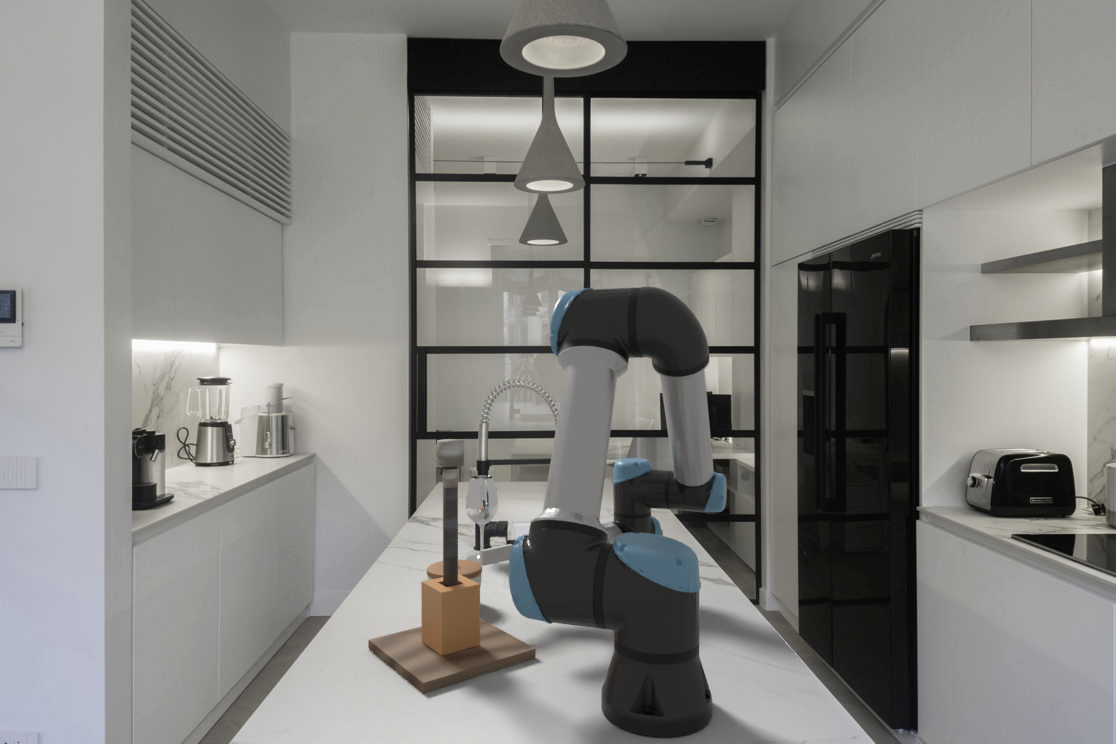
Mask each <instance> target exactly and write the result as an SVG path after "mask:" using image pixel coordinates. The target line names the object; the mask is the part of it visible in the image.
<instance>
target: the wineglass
mask: <svg viewBox="0 0 1116 744" xmlns="http://www.w3.org/2000/svg"><path fill="white" fill-rule="evenodd" d="M468 483H469V484H468V486H467V492H466V498H465V499H466V500H465V511H466V515H467V517H468V518H469V519H470V520H471V521H472V522H473V523H475V524H476V525H478V526H479V531H480V533H479V535H480V538H479V539H480V540H479V541H480V550H479V553H478V554H477V553H476V554H472V555H469V556H467V557H466V559H465V560H470V561H474V562H477V563H479V564H481V550H484V549H485V548H484V530H485V525H486V524H489V523H490V522H492V520H493V519H495V517H496V516H497V513H498V509H499V499H498V493H497V489H496V485H495V480H494V476H492V475H484V474H483V475H473V476H471V477H470V478H469V482H468Z"/></svg>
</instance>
